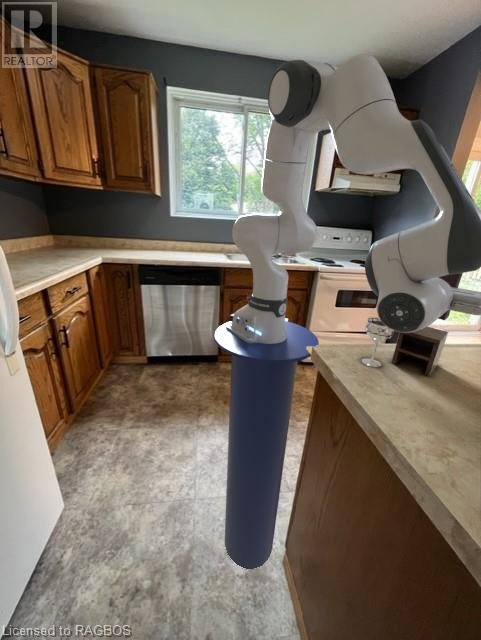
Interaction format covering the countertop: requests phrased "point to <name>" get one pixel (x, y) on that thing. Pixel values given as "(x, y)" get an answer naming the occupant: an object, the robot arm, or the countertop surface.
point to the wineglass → (376, 337)
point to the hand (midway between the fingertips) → (440, 289)
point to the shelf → (421, 346)
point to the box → (453, 282)
